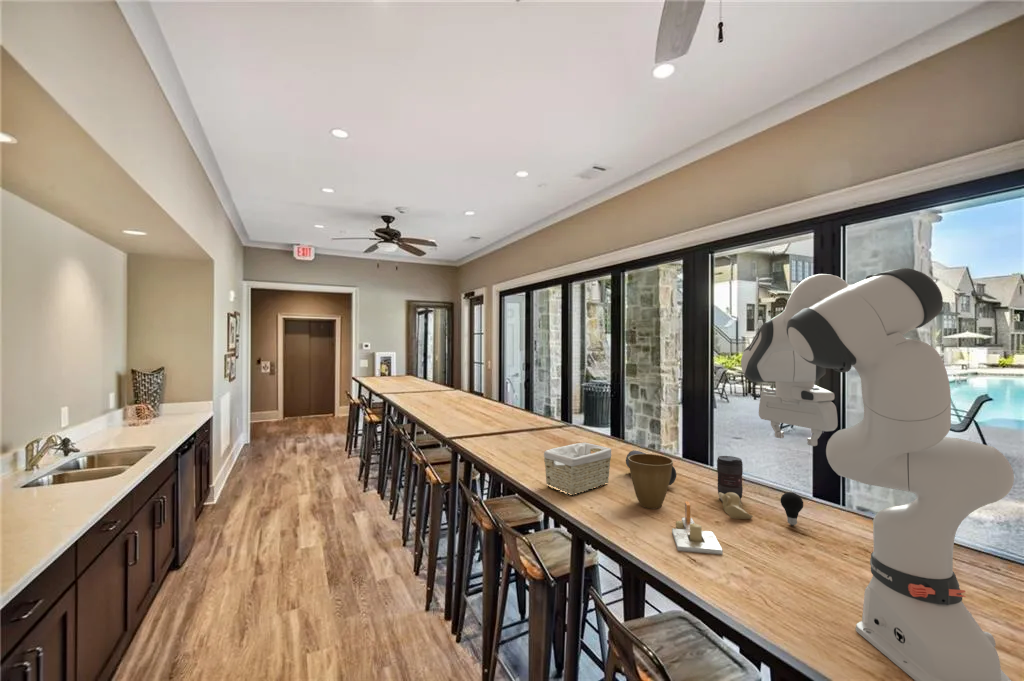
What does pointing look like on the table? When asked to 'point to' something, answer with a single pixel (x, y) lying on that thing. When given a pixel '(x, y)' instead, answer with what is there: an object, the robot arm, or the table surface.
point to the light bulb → (792, 506)
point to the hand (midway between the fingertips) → (795, 441)
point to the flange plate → (684, 544)
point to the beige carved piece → (733, 506)
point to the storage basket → (577, 467)
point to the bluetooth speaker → (673, 473)
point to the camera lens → (730, 475)
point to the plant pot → (650, 478)
